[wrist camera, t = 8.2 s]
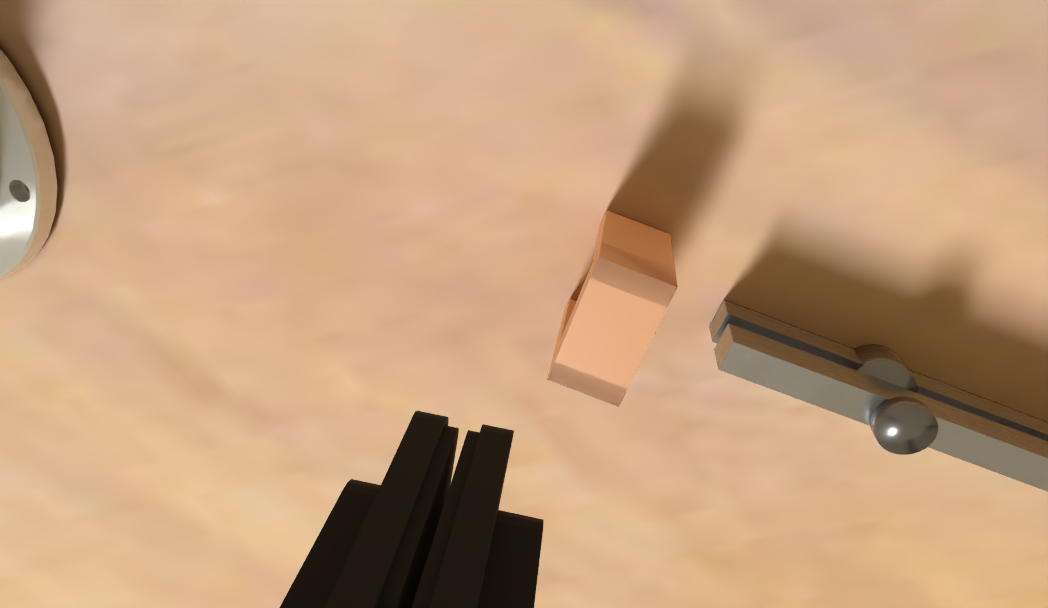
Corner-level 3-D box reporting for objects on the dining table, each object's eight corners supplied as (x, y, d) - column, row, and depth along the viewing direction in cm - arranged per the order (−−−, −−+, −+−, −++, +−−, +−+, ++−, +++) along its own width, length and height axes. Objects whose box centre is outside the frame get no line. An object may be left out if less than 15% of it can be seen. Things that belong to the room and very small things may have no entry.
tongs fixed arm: (703, 338, 25) (707, 356, 23) (729, 287, 24) (735, 304, 22) (1240, 542, 25) (1275, 572, 23) (1289, 499, 24) (1328, 529, 22)
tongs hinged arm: (708, 360, 23) (714, 390, 21) (734, 312, 22) (742, 338, 20) (1289, 575, 23) (1344, 623, 21) (1337, 535, 22) (1399, 582, 20)
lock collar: (563, 314, 25) (547, 379, 21) (606, 210, 23) (598, 257, 19) (622, 336, 25) (619, 406, 21) (670, 234, 23) (677, 287, 19)
